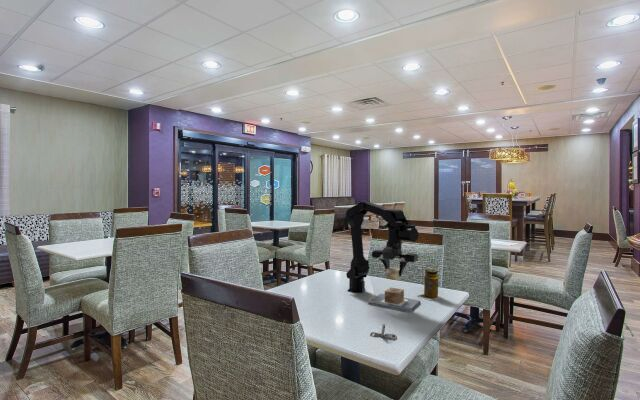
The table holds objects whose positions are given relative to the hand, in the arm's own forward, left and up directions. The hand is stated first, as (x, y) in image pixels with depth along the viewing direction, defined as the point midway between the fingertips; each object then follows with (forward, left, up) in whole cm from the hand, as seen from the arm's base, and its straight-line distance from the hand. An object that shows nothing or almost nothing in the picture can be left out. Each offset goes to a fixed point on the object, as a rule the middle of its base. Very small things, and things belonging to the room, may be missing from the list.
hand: (394, 275), depth 149 cm
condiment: (+10, +18, -12) cm, 24 cm away
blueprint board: (0, 0, -12) cm, 12 cm away
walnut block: (0, 0, -11) cm, 11 cm away
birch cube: (0, 0, -1) cm, 1 cm away
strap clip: (+9, -34, -12) cm, 37 cm away
